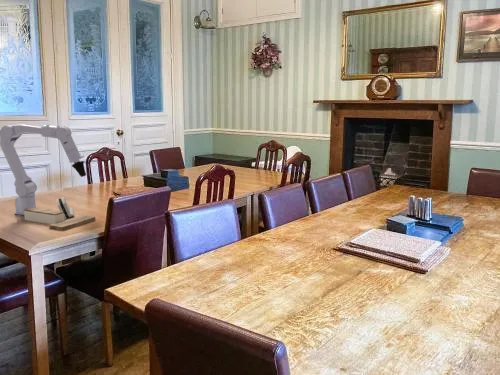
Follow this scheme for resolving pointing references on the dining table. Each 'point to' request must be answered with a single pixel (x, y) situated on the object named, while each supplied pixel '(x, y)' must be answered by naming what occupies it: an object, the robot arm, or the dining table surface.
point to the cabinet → (43, 215)
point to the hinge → (65, 207)
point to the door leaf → (72, 222)
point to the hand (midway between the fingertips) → (83, 176)
